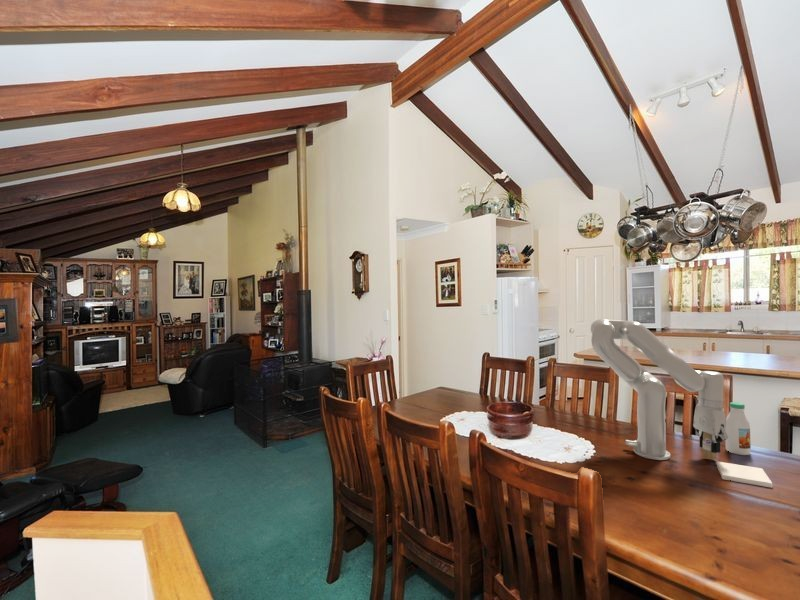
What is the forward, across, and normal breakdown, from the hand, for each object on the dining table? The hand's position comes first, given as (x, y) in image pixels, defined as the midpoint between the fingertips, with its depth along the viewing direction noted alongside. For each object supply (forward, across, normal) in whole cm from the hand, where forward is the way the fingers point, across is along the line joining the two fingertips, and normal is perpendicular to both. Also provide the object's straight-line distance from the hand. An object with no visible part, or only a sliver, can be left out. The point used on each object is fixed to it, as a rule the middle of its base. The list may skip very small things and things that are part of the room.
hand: (709, 449), depth 151 cm
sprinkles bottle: (+4, 0, 0) cm, 4 cm away
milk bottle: (+4, -5, +18) cm, 19 cm away
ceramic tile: (+4, +13, 0) cm, 14 cm away
